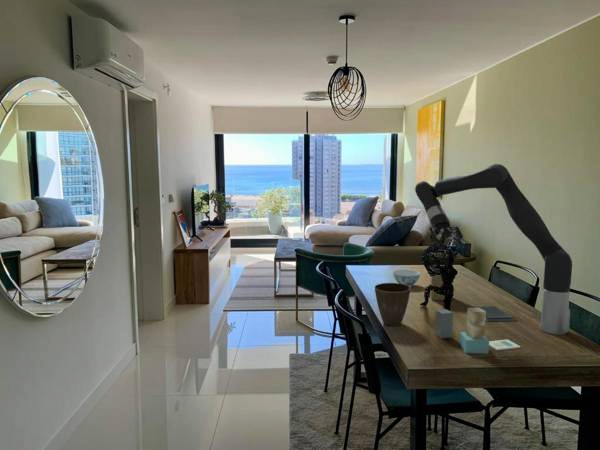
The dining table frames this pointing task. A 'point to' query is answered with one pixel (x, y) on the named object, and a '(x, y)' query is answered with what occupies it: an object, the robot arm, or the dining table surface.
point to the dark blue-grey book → (496, 314)
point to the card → (503, 344)
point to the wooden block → (438, 282)
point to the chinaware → (406, 277)
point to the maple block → (475, 322)
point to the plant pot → (392, 302)
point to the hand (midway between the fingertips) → (451, 248)
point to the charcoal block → (444, 323)
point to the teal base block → (474, 344)
